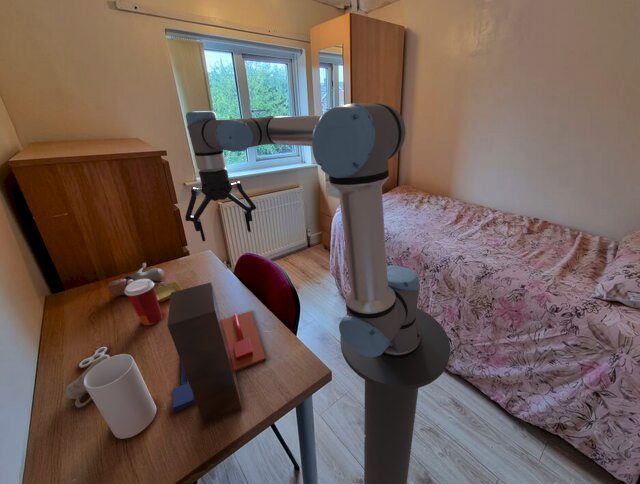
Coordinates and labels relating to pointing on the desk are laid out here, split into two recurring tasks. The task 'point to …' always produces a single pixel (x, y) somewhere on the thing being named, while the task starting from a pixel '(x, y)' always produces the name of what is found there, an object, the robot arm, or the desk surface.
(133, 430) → the cup
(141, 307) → the paper cup
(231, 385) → the stand
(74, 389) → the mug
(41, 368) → the desk surface
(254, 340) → the mat
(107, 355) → the fidget spinner
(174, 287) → the yellow square tray
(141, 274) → the anime character
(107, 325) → the desk surface
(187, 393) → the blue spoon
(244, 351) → the red spatula
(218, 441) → the desk surface
